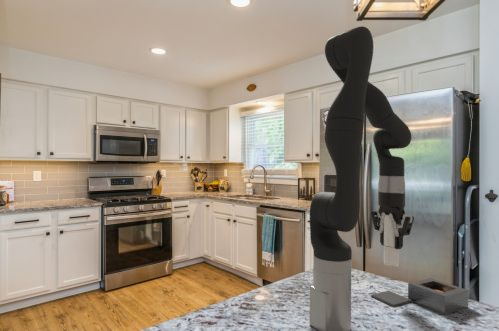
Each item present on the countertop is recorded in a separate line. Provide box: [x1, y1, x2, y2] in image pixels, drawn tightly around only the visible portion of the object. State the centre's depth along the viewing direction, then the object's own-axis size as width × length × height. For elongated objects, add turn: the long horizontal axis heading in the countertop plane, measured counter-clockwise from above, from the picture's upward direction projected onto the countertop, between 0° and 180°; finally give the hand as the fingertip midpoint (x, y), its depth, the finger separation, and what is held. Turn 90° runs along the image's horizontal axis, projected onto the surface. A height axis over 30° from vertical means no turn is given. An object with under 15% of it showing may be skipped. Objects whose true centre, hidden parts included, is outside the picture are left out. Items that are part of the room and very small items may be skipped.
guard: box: [407, 277, 469, 316], centre depth 92 cm, size 11×11×5 cm
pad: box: [370, 290, 412, 308], centre depth 94 cm, size 8×8×1 cm
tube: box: [383, 215, 400, 267], centre depth 95 cm, size 4×4×15 cm
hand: (391, 246), depth 95 cm, fingers closed on tube, 4 cm apart
